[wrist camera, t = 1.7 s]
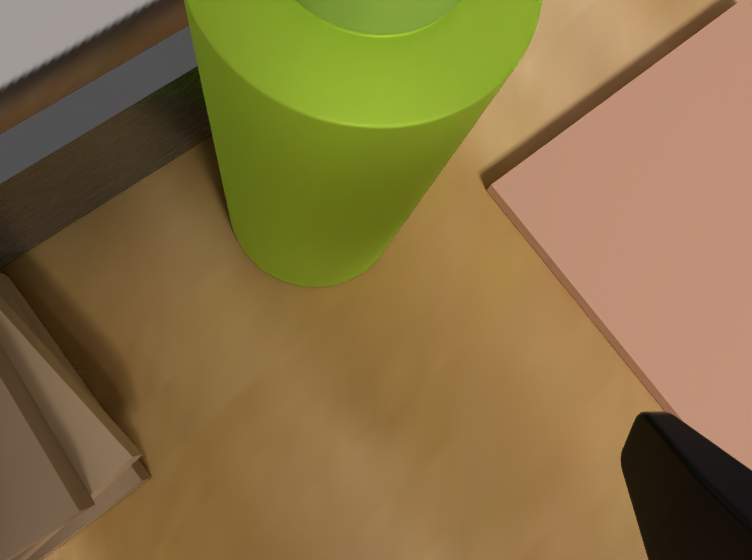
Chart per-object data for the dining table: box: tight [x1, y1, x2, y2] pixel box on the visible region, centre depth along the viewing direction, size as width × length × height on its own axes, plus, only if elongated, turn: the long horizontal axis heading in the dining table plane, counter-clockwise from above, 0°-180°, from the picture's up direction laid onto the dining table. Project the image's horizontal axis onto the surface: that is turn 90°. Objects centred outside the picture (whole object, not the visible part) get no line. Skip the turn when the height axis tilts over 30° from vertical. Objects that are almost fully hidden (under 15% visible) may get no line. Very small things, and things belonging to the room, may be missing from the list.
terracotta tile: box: [486, 0, 752, 470], centre depth 25 cm, size 14×14×1 cm
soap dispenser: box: [184, 0, 542, 287], centre depth 13 cm, size 6×7×20 cm
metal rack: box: [0, 26, 212, 268], centre depth 19 cm, size 28×11×4 cm, turn 128°
